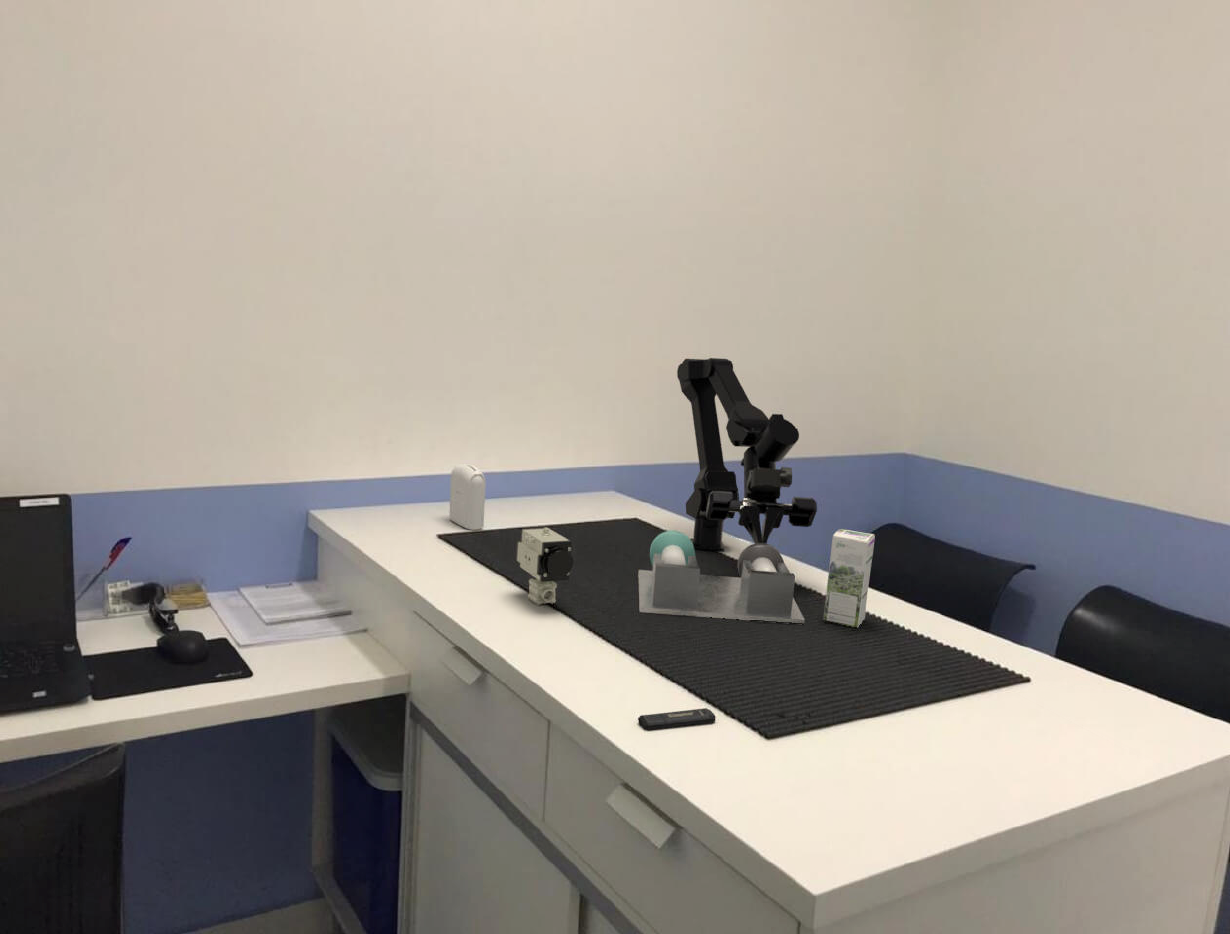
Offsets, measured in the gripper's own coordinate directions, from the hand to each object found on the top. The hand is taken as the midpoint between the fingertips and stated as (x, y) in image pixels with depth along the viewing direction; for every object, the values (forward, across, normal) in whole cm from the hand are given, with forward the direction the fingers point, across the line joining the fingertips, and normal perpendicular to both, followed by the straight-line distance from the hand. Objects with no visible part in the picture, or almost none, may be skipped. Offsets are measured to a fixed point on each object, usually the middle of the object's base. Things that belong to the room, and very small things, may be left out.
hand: (762, 550), depth 177 cm
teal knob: (+6, -15, +3) cm, 17 cm away
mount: (+9, -8, +2) cm, 12 cm away
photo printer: (-18, -56, +29) cm, 65 cm away
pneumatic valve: (+16, -37, -4) cm, 40 cm away
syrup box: (+14, +12, -3) cm, 19 cm away
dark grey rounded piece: (+9, 0, 0) cm, 9 cm away
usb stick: (+46, -17, -34) cm, 60 cm away
